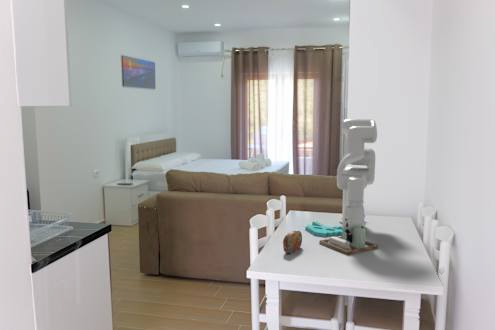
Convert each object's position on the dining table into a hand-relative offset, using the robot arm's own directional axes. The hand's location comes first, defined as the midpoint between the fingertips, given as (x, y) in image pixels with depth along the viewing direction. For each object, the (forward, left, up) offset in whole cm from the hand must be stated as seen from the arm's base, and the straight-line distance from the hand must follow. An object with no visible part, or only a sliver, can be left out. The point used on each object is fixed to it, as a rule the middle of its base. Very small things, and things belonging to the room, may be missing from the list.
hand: (353, 240), depth 205 cm
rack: (+3, 0, -2) cm, 4 cm away
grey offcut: (+9, 0, 0) cm, 9 cm away
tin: (+30, -8, -2) cm, 31 cm away
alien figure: (-4, -24, -3) cm, 24 cm away
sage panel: (0, 0, -2) cm, 2 cm away
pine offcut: (+9, 0, -2) cm, 9 cm away
